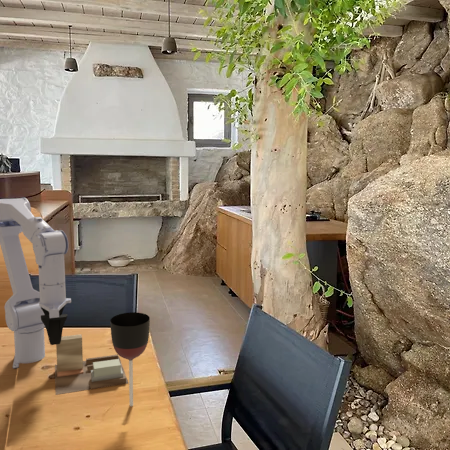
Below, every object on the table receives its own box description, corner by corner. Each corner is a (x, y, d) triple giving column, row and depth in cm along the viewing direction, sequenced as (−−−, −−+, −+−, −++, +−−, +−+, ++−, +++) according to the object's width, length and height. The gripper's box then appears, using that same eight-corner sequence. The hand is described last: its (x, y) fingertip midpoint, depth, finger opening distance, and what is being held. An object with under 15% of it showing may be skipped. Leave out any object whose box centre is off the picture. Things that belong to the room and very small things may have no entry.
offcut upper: (93, 370, 107) (92, 362, 107) (118, 366, 110) (118, 358, 109) (94, 377, 104) (94, 368, 104) (120, 373, 106) (120, 365, 106)
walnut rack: (55, 368, 115) (54, 360, 114) (118, 359, 120) (118, 351, 120) (55, 398, 100) (55, 389, 100) (128, 387, 106) (128, 378, 105)
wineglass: (152, 399, 101) (152, 312, 98) (147, 420, 92) (146, 326, 89) (116, 399, 100) (115, 312, 98) (108, 421, 92) (106, 326, 89)
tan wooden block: (57, 368, 112) (55, 337, 111) (82, 364, 114) (81, 334, 113) (57, 372, 110) (56, 340, 109) (82, 368, 112) (82, 337, 111)
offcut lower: (91, 378, 108) (90, 370, 107) (120, 373, 110) (120, 366, 110) (92, 386, 104) (92, 377, 104) (123, 381, 106) (123, 373, 106)
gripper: (72, 288, 101) (74, 346, 102) (68, 274, 114) (70, 326, 116) (38, 291, 98) (41, 351, 100) (38, 277, 111) (40, 330, 113)
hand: (54, 338), depth 107 cm, fingers open, 7 cm apart
